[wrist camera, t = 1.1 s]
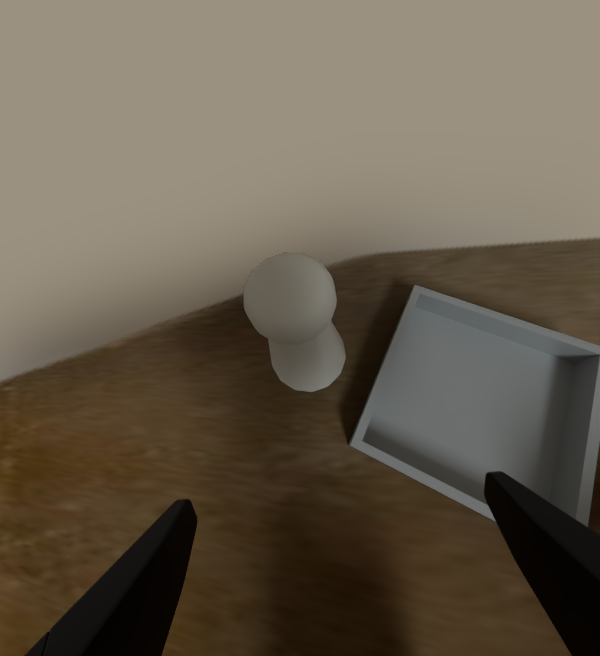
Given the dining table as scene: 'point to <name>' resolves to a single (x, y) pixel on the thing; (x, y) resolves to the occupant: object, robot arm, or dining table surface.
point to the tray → (485, 404)
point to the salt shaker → (296, 319)
